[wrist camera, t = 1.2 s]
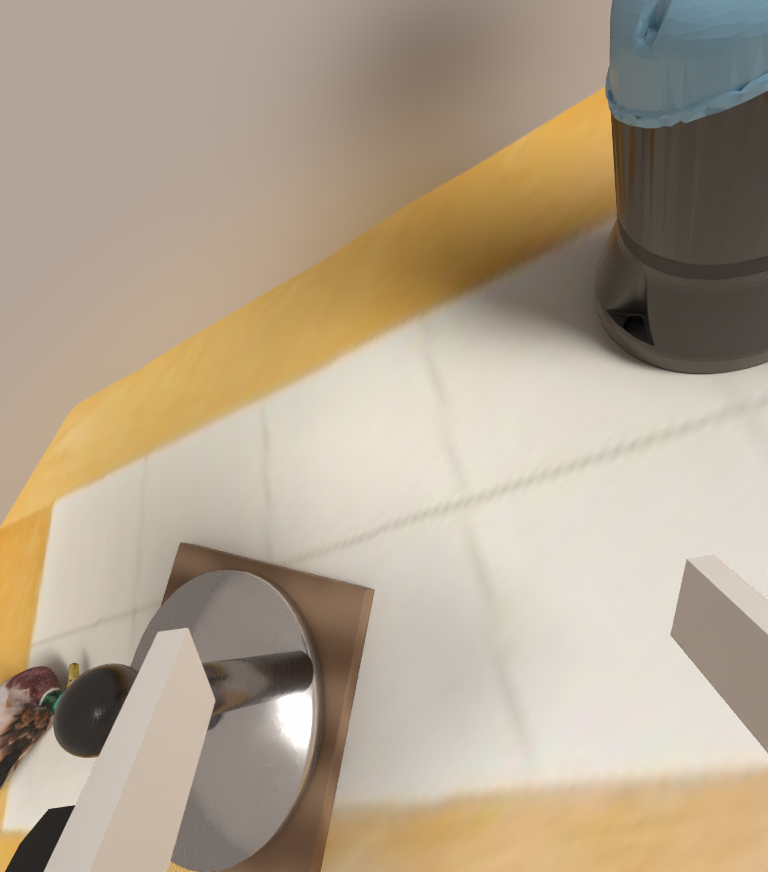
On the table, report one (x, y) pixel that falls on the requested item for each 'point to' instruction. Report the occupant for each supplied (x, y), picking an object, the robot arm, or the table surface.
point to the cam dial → (225, 713)
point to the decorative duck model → (27, 713)
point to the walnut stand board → (340, 658)
